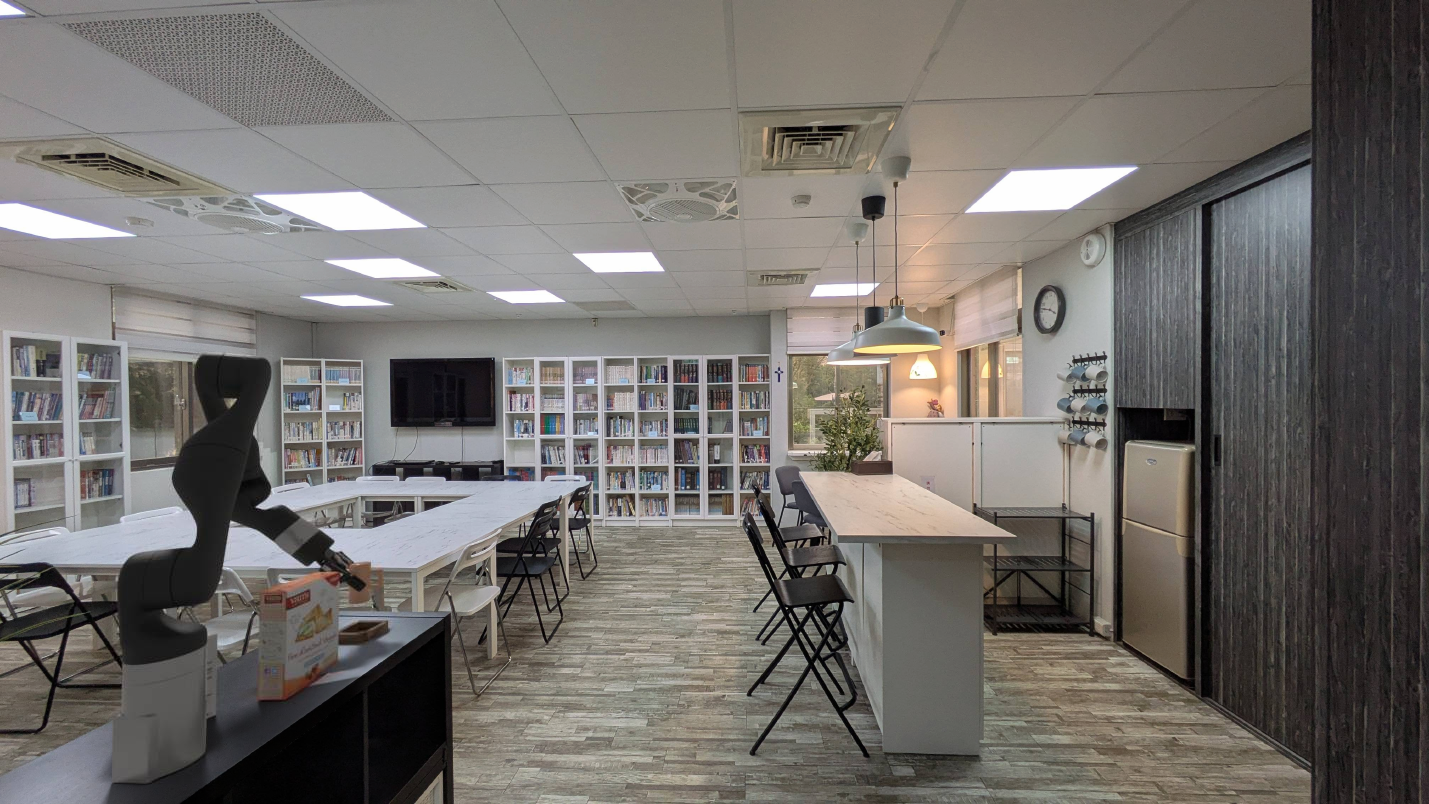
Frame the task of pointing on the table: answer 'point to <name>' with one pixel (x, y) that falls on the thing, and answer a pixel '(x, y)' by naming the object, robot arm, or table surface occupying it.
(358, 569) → the terracotta jug
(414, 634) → the table surface
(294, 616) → the cracker box
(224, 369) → the robot arm
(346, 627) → the box
